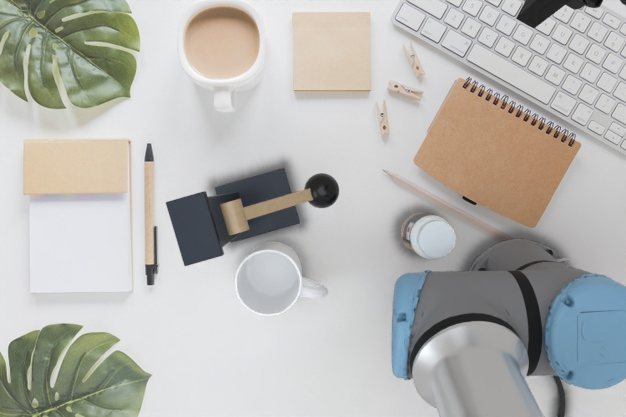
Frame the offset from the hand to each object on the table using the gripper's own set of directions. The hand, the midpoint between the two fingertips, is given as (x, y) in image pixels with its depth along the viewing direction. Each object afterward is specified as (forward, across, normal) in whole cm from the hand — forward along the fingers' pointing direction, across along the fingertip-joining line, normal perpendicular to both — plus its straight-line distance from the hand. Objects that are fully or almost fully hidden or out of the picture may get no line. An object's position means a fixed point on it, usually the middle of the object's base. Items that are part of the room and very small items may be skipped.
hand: (534, 6), depth 39 cm
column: (+37, +16, +25) cm, 48 cm away
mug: (+39, +5, +30) cm, 49 cm away
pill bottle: (+39, -9, +16) cm, 43 cm away
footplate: (+39, +13, +23) cm, 47 cm away
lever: (+17, +10, +21) cm, 29 cm away
